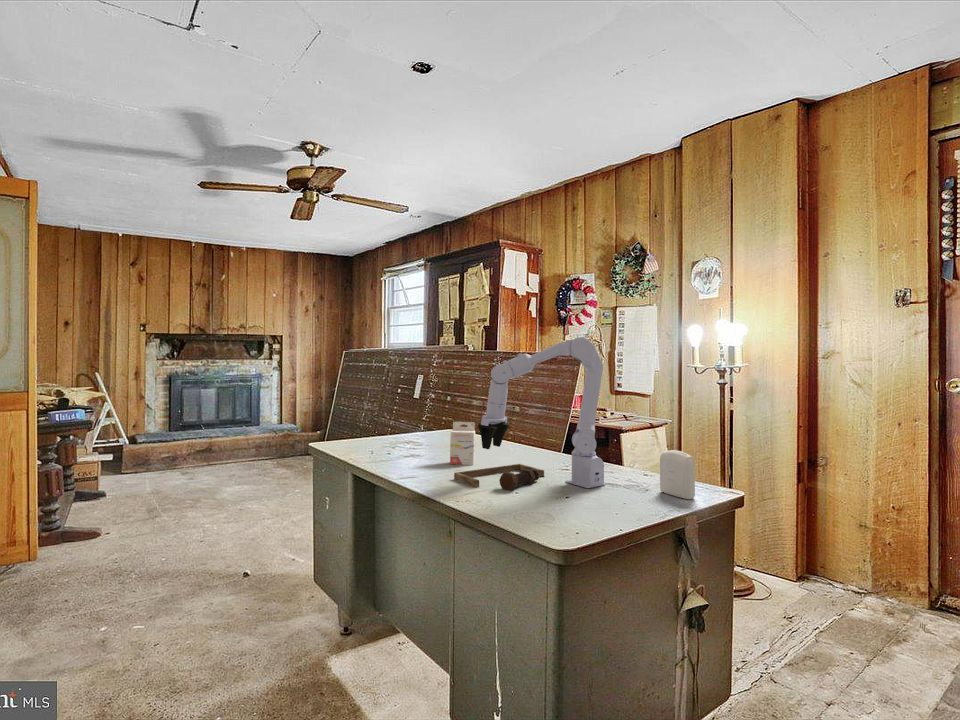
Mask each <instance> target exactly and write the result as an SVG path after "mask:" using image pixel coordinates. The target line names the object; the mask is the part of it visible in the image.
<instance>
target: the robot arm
mask: <svg viewBox="0 0 960 720" xmlns="http://www.w3.org/2000/svg"><path fill="white" fill-rule="evenodd" d="M557 356H565V357H569V356H571V357H572V358H574V359H575V360H577V361H578V362H579V363H580V364H581V365H582V367H583V368H584V369H585V377H584V385H583V391H582V397H581V403H580V409H579V410H580V411H579V417H578V422H577V425H576V429H575V432H574V433H573V434H572V437H571V443H572V446H573V447H574V448H573V450H571V479H565V483H568V484H571V485H574V486H577V487H582V488H585V489H590V488H596V487H602V486H606V485H607V484H606V482H605V462H604V461H603V459H602V458H601V457H600V456H599V457H598V456H597V452H596V449H597V440H596V438H595V435H596V425H595V423H596V417H597V409H598V406H599V405H598V403H599V399H600V397H599V396H600V390H601V385H602V384H601V383H602V377H603V372H604V371H603V370H604V365H603V362H602V359H601V357H600V356H599V353H598V350H597V348H596V346H595V345H594V343H592V341H591V340H589V339H588V338H587V337H583V336H581V337H580V336H579V337H576V338H573V339H569V340H564V341H562V342H561V341H560V342H558V343H555V344H553V345H551V346H549V347H547V348H545V349H542V350H540V351H537V352H536V353H534V354H532V355H530V354H528V353H522V352H520V353H518V354H517V355H516V356H515V357H513V358H510V359H509V360H506V359H505V360H503V361H502V363H498V364H497V365H494V367H493V368H492V369H491V373H490V376H491V380H490V387H488V388H489V390H488V397H487V404H486V412H485V413H486V414H485V415H482V417H481V421H480V423H478V424H477V428H478V430H479V431H478V432H480V439H481V447H482V449H486V450H490V449H491V446H495V447H501V445H502V441H503V439H504V437H505V434H506V432H507V431H508V429H509V428H510V424H509V423H508V416H506V409H507V402H508V401H507V400H508V392H509V389H508V385H509V380H510V379H516V378H519V377H520V376H523V375H526V374H528V373H530V372H533V370H534V367H535V366H536V365H537V364H540V363H543V362H546V361H547V360H548V361H549V360H551V359H553V358H555V357H557Z"/></svg>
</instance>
